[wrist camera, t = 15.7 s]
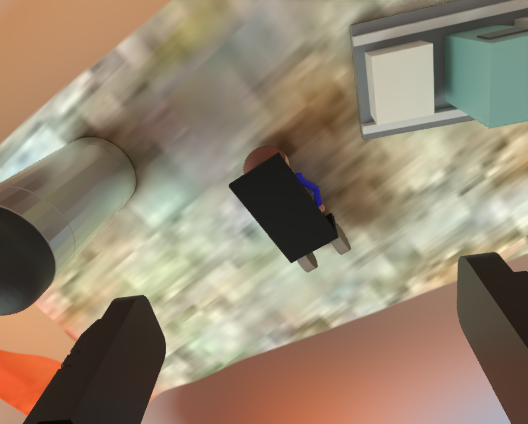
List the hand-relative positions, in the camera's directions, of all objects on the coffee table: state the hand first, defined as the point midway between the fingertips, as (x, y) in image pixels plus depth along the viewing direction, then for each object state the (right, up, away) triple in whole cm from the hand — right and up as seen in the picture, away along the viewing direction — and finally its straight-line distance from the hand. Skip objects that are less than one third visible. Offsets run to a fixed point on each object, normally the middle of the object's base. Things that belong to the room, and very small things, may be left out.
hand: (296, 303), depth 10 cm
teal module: (+18, +16, +26) cm, 36 cm away
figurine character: (+3, +4, +36) cm, 36 cm away
